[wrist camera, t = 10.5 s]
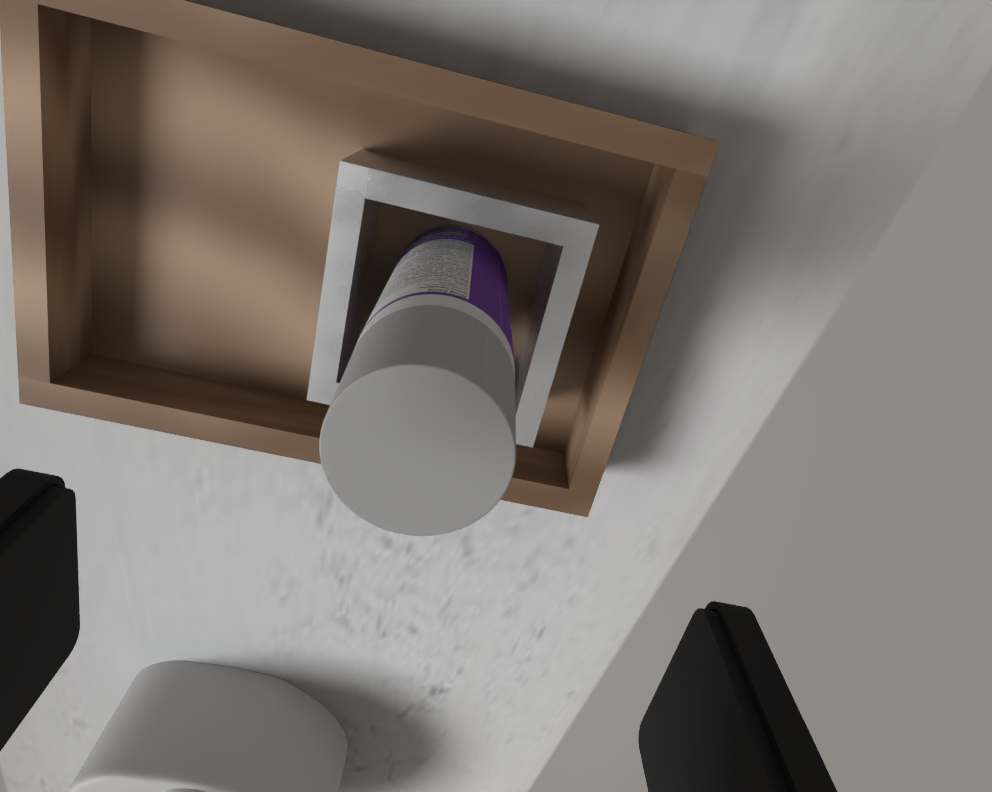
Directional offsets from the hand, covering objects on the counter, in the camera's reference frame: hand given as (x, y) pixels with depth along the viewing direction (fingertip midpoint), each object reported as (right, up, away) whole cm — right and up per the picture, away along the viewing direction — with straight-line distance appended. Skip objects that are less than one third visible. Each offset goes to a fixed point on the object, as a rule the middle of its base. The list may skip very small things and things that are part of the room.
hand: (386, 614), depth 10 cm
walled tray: (-4, +9, +19) cm, 22 cm away
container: (0, +8, +19) cm, 21 cm away
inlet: (0, +8, +19) cm, 21 cm away
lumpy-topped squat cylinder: (-14, -17, +31) cm, 38 cm away
